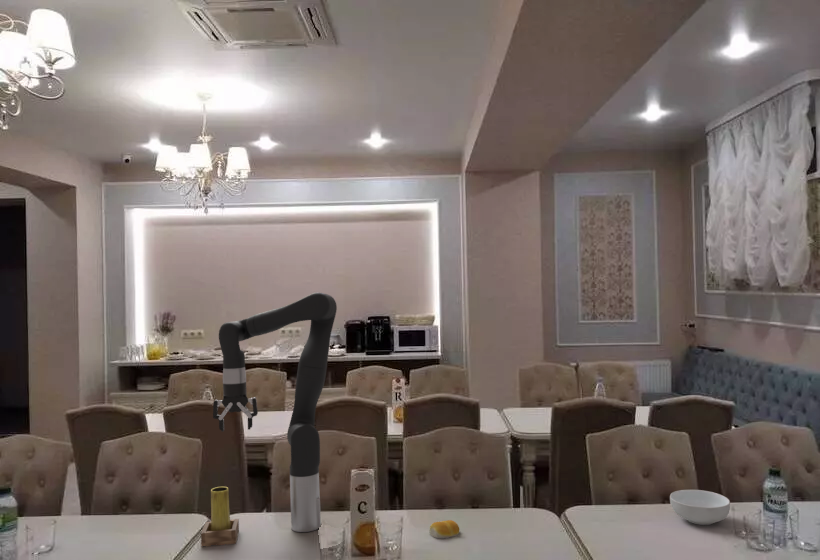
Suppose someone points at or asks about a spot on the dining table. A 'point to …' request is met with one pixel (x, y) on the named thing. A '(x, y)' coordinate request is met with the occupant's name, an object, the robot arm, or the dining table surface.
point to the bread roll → (444, 529)
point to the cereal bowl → (700, 506)
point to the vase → (220, 509)
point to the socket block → (220, 534)
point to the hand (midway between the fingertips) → (236, 430)
